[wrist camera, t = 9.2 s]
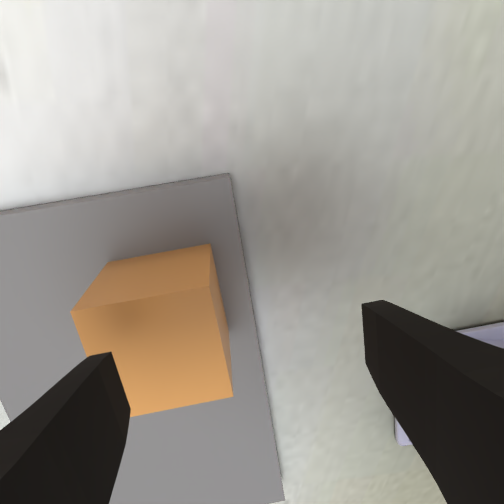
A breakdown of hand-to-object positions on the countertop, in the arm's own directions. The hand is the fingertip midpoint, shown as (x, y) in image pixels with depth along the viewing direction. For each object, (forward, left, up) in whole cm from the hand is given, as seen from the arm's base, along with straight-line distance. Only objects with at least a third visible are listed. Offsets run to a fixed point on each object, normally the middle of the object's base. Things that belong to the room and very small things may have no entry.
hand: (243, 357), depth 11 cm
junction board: (+6, +7, -10) cm, 14 cm away
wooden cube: (+3, +2, -8) cm, 9 cm away
